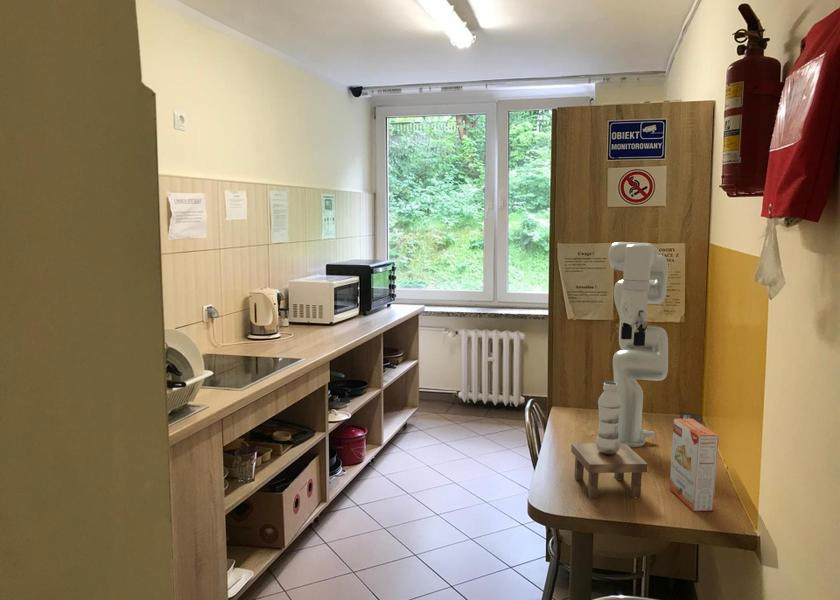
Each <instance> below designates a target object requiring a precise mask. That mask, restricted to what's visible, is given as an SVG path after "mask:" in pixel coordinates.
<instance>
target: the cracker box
mask: <svg viewBox="0 0 840 600" xmlns="http://www.w3.org/2000/svg"><path fill="white" fill-rule="evenodd" d="M672 428H673V430H672V445H671V456H670V457H671V458H670V474H669V475H670V476H669V490H670V491H671V492H672V493H673V494H674V495H675V496H676V497H677V498H678V499H679V500H681V502H683V503H684V505H685V506H687V507H688V508H689V509H690V510H691V511H692V512H713V511H714V505H715V493H716V491H715V489H716V479H717V465H718V454H719V452H718V451H719V439H720V436H719V434H717V433H715V432H714V431H713V430H711V429H709V428H708V427H706V426H704V425H703V423H702V424H700V423H699V422H697V421H696V420H694V419H680V418H674V419H673V427H672Z"/></svg>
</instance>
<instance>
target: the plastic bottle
mask: <svg viewBox="0 0 840 600" xmlns="http://www.w3.org/2000/svg"><path fill="white" fill-rule="evenodd" d="M602 390H603V392H602V393H601V395H600V396H599V398H598V401H597V407H598V431H597V435H596V436H597V437H596V439H595V440H596V441H595V443H596V448H597V450H598V451H599V452H600V453H603V454H609V455H612V454H616V453H617V452H618V451H619V448H620V440H619V427H618V426H619V416H620V411H621V406H622V402H621V399H620V397H619V395H618V394H617V392H616V391H617V383H615V382H614V381H604V382H603V388H602Z"/></svg>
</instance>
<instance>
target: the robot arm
mask: <svg viewBox="0 0 840 600" xmlns="http://www.w3.org/2000/svg"><path fill="white" fill-rule="evenodd" d="M658 253H659V251H658V249H657V248H656V246H655V245H654V244H653V243H651V242H650V243H649V242H635V241H634V242H633V241H631V242H630V241H628V242H627V241H618V242H617V241H616V242H612V243H611V245H610V246H609V249H608V254H607V256H608V257H607V258H608V263H609V266H610V267H611V269H613V270H615V271H620V272H623V277H622V278H623V279H620V280H618V281H616V282H615V284H614V288H613V298H614V304H615V308H616V310H617V313H618V318H619V329H618V344H619V347H620V350H617V351H616V352H614V355H613V356H612V357H613V358H612V370H613V382H615V383H617V391H616V392H617V394H618V395H619V397H620V399H621V402H622V406H621V411H620V416H619V426H618V427H619V440H620V443H625V444H627V445H628V446H629V447H630V448H640V447H642V446H644V445H645V443H646V438H655V437H656V432H655V431H649V430H648V429H642V420H643V419H642V417H643V406H644V405H643V402H644V391H643V388H642V387H641V384H639V382H638V381H637V380H644V381H645V380H646V381H658V382H659V381H663V380H665V379H666V378H667V376H668V372H669V337H668V333H667V331H666V330H665V329H664V328H663V327H660V326H651V325H649V326H648V321H649V319H648V307H649V306H648V305H649V304H650V305H659V304H662V303H664V301H665V299H666V297H667V288H668V280H669V279H668V277H669V263H668V259H667V257H666V256H664V255H663V254H658ZM639 446H640V447H639Z"/></svg>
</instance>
